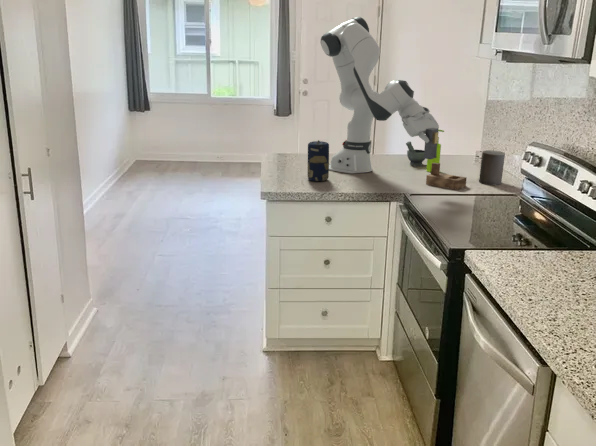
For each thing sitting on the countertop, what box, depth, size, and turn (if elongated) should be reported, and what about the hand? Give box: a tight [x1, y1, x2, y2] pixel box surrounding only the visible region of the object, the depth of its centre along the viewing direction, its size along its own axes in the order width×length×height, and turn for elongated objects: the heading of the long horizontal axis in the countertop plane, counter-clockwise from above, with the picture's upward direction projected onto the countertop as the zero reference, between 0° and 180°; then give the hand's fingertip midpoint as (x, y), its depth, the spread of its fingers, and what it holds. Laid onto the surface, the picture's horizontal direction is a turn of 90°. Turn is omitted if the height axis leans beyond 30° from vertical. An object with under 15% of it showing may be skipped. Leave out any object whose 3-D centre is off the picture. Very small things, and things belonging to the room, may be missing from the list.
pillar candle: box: [478, 149, 506, 186], centre depth 263 cm, size 10×10×15 cm
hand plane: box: [425, 162, 467, 191], centre depth 258 cm, size 15×8×9 cm, turn 50°
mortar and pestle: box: [405, 141, 426, 167], centre depth 300 cm, size 11×9×12 cm
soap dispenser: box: [426, 129, 445, 173], centre depth 284 cm, size 6×7×20 cm
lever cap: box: [423, 128, 440, 160], centre depth 242 cm, size 4×5×12 cm
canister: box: [307, 139, 330, 182], centre depth 265 cm, size 10×10×18 cm
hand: (432, 141), depth 242 cm, fingers closed on lever cap, 5 cm apart
